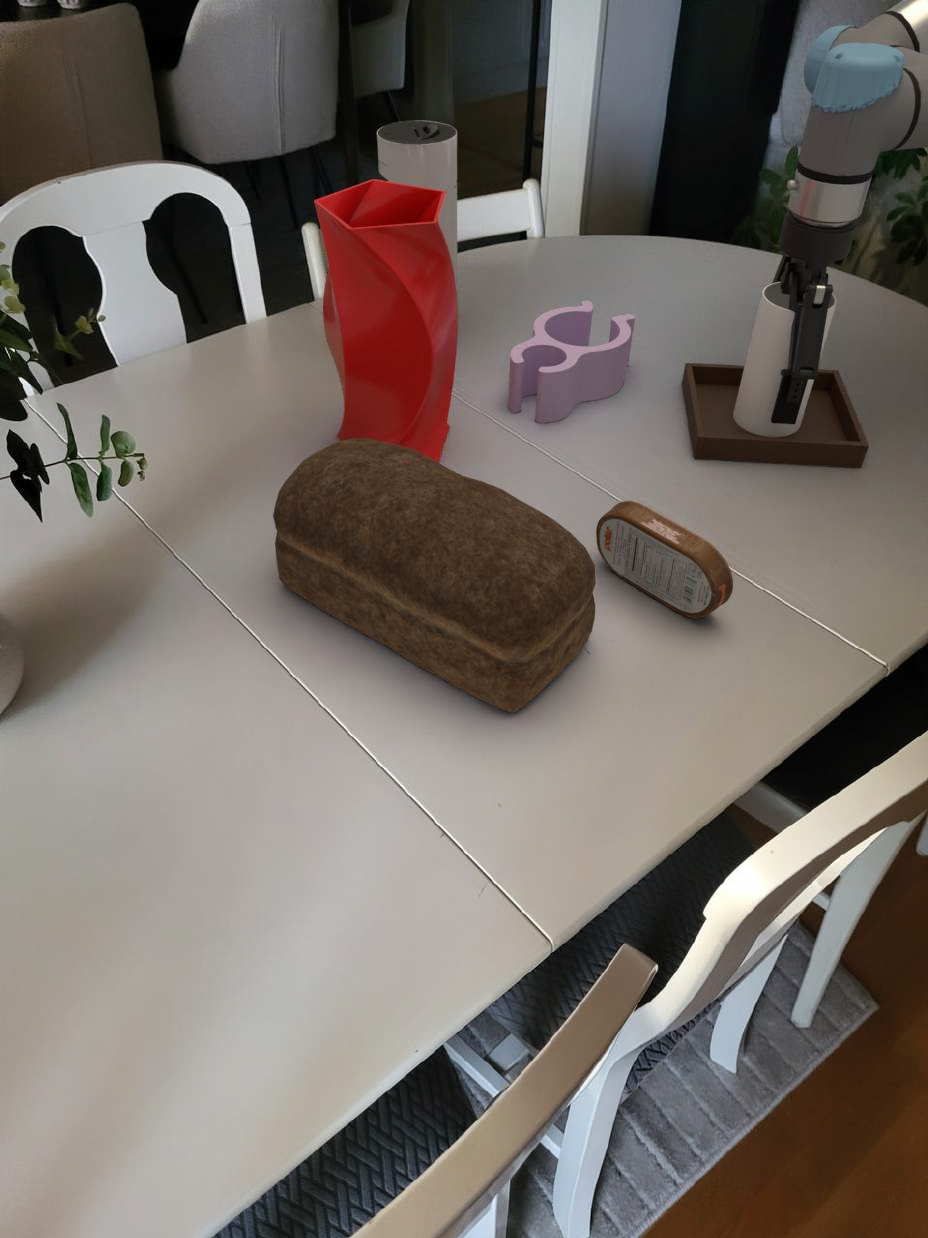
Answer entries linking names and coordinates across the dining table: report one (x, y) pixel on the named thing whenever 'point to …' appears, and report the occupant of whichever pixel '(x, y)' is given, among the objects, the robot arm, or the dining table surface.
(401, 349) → the vase
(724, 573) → the tin
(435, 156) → the speaker
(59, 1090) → the dining table surface
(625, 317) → the clip
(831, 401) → the tray
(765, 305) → the cup
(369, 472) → the bread
